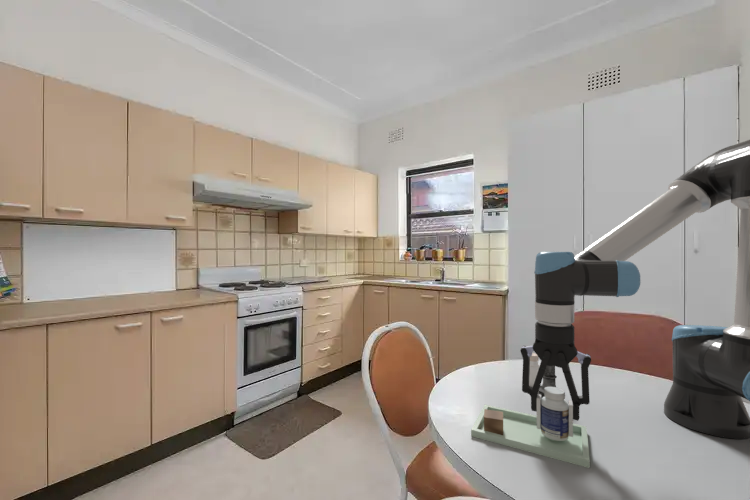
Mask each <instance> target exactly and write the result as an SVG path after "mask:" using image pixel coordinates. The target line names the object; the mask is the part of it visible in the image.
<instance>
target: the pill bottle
mask: <svg viewBox="0 0 750 500" xmlns="http://www.w3.org/2000/svg"><path fill="white" fill-rule="evenodd" d="M544 395H545V397H543V398H542V397H541V398H542V399H541V433H542V434H543V435H544V436H545V437H547V438H549V439H552V440H556V441H565V440H567V439H568V438H569V402H567V401H566V400H565V399H566V392H565V390H563V389H562V388H559V387H557V386H556V387H545V388H544Z"/></svg>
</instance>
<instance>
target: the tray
mask: <svg viewBox="0 0 750 500" xmlns="http://www.w3.org/2000/svg"><path fill="white" fill-rule="evenodd" d="M484 409H487V410H494V411H500V412H503V435H499V434H495V433H492V432H488V431H484ZM470 434H471V435H470V437H473V438H477V439H480V440H484V441H488V442H491V443H495V444H498V445H503V446H506V447H509V448H514V449H518V450H520V451H524V452H529V453H532V454H536V455H539V456H543V457H547V458H550V459H554V460H558V461H562V462H565V463H568V464H569V463H570V464H572V465H576V466H580V467H584V468H586V469H590V467H591V463H590V462H591V461H590V459H591V457H590V449H589V439H588V430H587V426H585V425H581V424H578V423H577V424H576V423H573V437H571V436H569V438H568V439H567V440H565V441H556V440H552V439H549V438H547V437H545V436H544V435H543V434H542V433H541V429H537V414H536V415H535V414H530V413H526V412H522V411H517V410H513V409H508V408H504V407H500V406H499V407H498V406H494V405H489V404H484V406H483V407H482V409H481V411H480V412H479V414H478V416H477V418H476V420H475V422H474V423H473V426H472V427H471V430H470Z"/></svg>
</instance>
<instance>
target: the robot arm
mask: <svg viewBox="0 0 750 500" xmlns="http://www.w3.org/2000/svg"><path fill="white" fill-rule="evenodd" d="M727 201H730V203H731V204H733V205H734V206H736V207H737V208H738V209H739V210H740V217H739V235H738V249H737V250H738V251H737V252H738V253H737V267H736V268H737V269H736V270H737V272H736V273H737V274H736V284H735V301H734V302H735V304H734V316H733V317H734V318H733V319H734V321H733V323H732V325H730V326H720V325H718V326H717V325H699V324H698V325H697V324H679V325H676V326H674V328H673V330H672V337H671V342H672V384H671V387H670V389H669V392H668V393H667V396H666V398H665V399H664V403H663V413H664V414H665V416H666V417H667V418H668V419H669V420H671V421H673V422H675V423H677V424H679V425H681V426H682V427H685V428H687V429H690V430H692V431H696V432H699V433H702V434H705V435H711V436H715V437H719V438H720V437H721V438H726V439H734V440H735V439H736V440H737V439H738V440H739V439H741V440H743V439H748V438H749V439H750V415H749V412H748V411H747V408H746V405H745V404H744V400H743V399H745V400H747V401H749V402H750V139H747V140H745V141H742V142H739V143H736V144H734V145H730V146H727V147H724V148H721V149H719V150H718V151H715V152H714V153H712V154H710V155H708V156H706V158H704V159H702V160H701V161H699V162H698V163H696V164H695V165H694V166H692V167H691V168H690V169H688V170H687V171H686V172H684V173H683V174H682V175H680V176H679V177H677V178H676V179H675V180H673V181H672V182H671V183H670V184H669V185H668V189H667V191H665V192H664V193H663V194H661V195H660V196H658V197H656V198H655V199H654V200H652V201H651V202H650V203H648V204H646V205H645V206H644V207H643V208H641V209H640V210H639V211H637V212H636V213H634V214H633V215H632V216H630V217H628V218H626V220H624V221H623V222H622V223H620V224H619V225H617V226H616V227H614V228H613V229H612V230H610V231H609V232H608V233H607V232H606V234H604V235H603V236H601V237H600V238H599V239H598V240H596V241H594V242H593V243H592V244H590V245H589V246H588V247H586V248H585V249H584V250H582V251H580V252H578V253H577V254H576V255H575V254H574V252H572V251H540V252H538V253H537V254H536V256H535V261H534V262H535V263H534V284H535V285H534V287H535V289H534V290H535V291H534V292H535V301H534V303H535V304H534V314H535V315H534V316H535V317H534V318H535V320H536V322H535V324H534V326H535V327H534V329H535V330H534V333H535V335H534V337H535V338H534V340H535V341H534V342H533V345H528V346H526V345H522V346H521V348H520V351H519V352H520V353H521V358H522V381H521V391H522V392H523V393H525V394H528V395H529V396H530V409H531V411H532V412H536V416H537V429H541V398H542V397H541V395H540V394H539V388H540V386H542V384H541V383H543V375H544V372H545V370H546V367H547V366H555V368H556V367H557V368H559V369H560V368H561V370H562V373H563V375H564V380H565V382H566V386H567V389H568V392H569V395H570V398H571V399H569V400H568V405H569V436H571V437H573V424H574V421H579V420H580V407H581V405H590V385H589V384H590V382H589V367H590V365H591V362H592V357H591V355H590V353H583V352H581V351H578V349H577V347H576V345H575V326H574V325H573V324H574V323H575V297H576V296H578V297H579V296H580V297H581V296H592V297H593V296H594V297H595V296H596V297H597V296H598V297H616V298H619V297H631V296H633V295H634V296H635V294H636V293H638V291H639V290H640V288H641V273H640V270H639V268H638V266H637V265H636V264H634V263H633V262H631V261H629V260H628V259H630V258H631V257H633V256H634V255H636V254H637V253H639V252H640V251H642V250H643V249H645V248H647V247H648V246H649V245H651V244H652V243H654V242H655V241H656V240H658V239H659V238H661V237H662V236H663V235H665V234H667V233H668V232H669V231H671V230H672V229H674V228H675V227H676V226H678V225H680V224H681V223H682V222H684V221H686V220H687V219H688V218H690V217H691V216H693V215H694V214H696V213H698V214H699V213H700V214H701V213H704V212H707V211H708V210H710V209H711V208H713V207H714V206H716V205H718V204H721V203H723V202H727ZM627 260H628V261H627ZM532 353H535V354H537V355H538V359H540V363H539V365H540V366H539V370H538V373H537V376H536V379H535V382H534V385H533V387H530V386H529V373H530V356H532ZM575 357H576V358H577V362H578V364H580V374H581V395H579V394H578V391H577V388H576V384H575V382H574V378H573V375H572V374H573V373H572V371H571V368H570V365H569V364H570V363H572V361H573V360H574V359H575Z"/></svg>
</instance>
